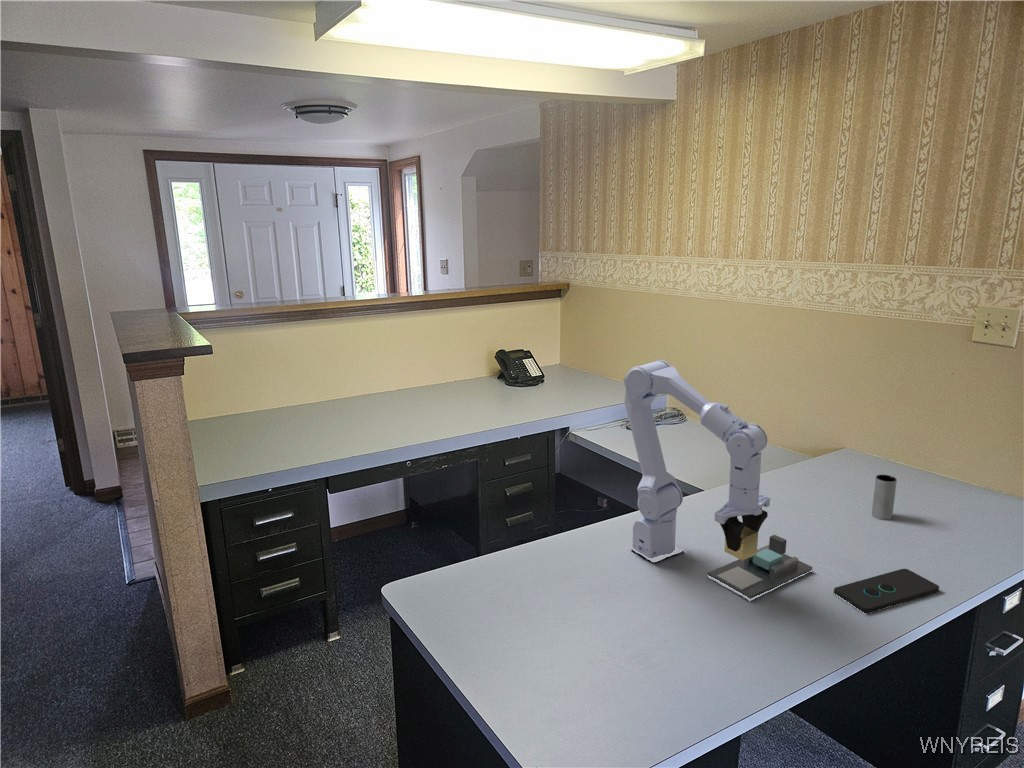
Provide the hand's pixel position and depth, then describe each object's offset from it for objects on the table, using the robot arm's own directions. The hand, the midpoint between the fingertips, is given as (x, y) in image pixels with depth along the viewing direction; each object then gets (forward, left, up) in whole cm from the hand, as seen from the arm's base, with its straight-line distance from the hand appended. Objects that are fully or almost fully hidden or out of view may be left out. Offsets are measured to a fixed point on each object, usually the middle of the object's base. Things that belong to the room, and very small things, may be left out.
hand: (740, 545), depth 135 cm
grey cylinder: (+54, 0, -9) cm, 55 cm away
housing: (0, 0, -2) cm, 2 cm away
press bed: (+6, -1, -8) cm, 10 cm away
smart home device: (+21, -19, -9) cm, 30 cm away
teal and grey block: (+9, -1, -6) cm, 11 cm away
